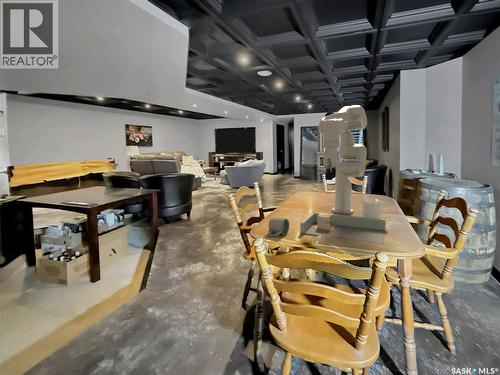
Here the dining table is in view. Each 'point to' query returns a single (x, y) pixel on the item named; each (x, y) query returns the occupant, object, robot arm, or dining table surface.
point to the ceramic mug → (278, 226)
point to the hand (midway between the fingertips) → (330, 178)
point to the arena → (347, 228)
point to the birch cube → (324, 221)
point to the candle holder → (372, 208)
